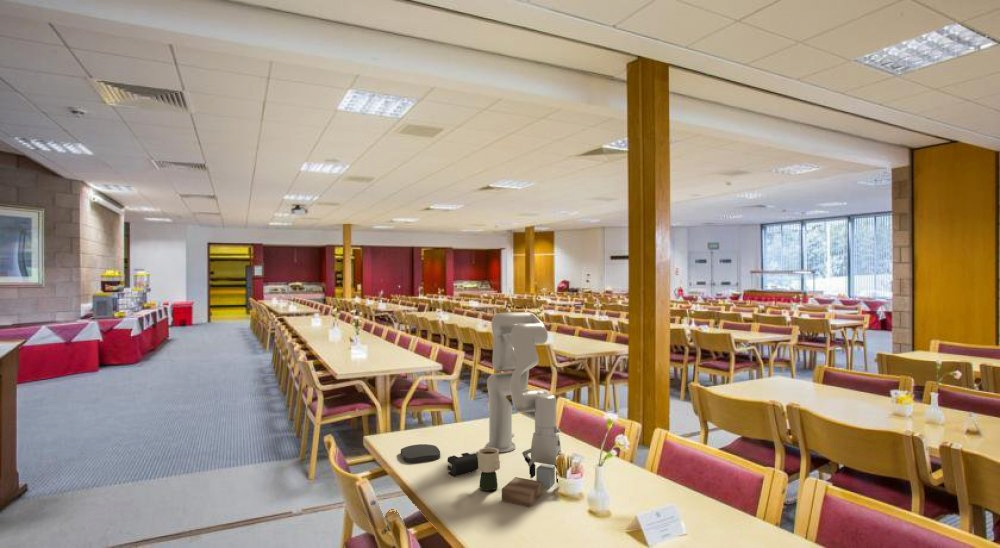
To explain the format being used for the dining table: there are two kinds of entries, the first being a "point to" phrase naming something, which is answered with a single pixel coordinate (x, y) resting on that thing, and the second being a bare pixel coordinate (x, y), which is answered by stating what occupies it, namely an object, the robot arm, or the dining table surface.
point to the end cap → (462, 464)
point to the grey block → (546, 475)
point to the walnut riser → (522, 491)
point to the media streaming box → (420, 453)
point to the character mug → (488, 467)
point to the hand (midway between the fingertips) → (545, 479)
